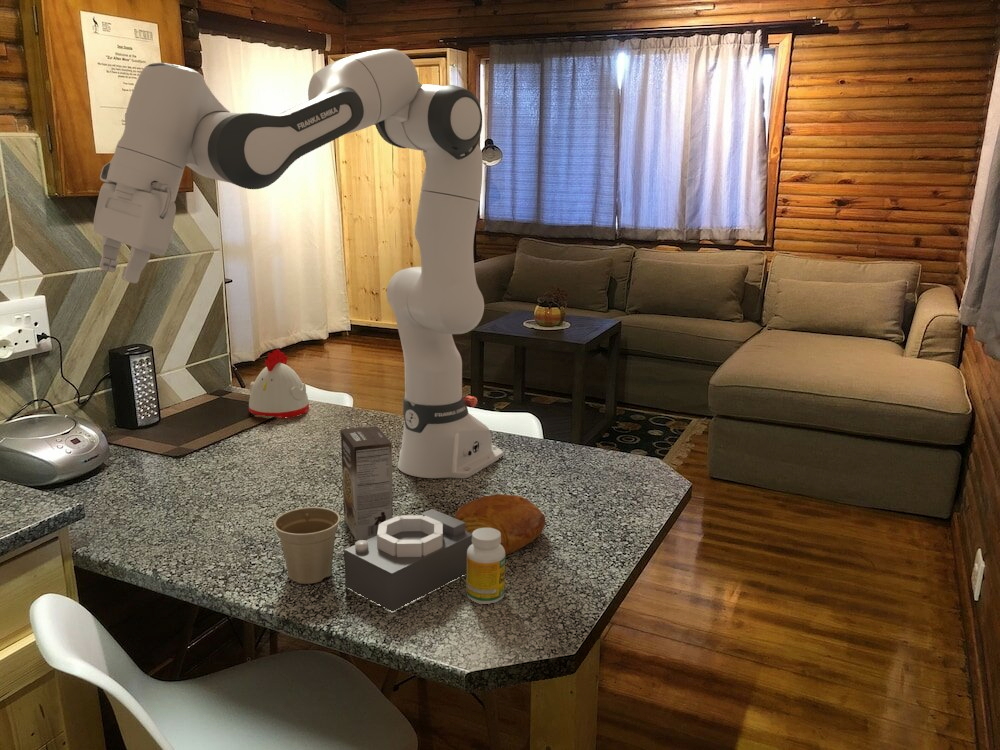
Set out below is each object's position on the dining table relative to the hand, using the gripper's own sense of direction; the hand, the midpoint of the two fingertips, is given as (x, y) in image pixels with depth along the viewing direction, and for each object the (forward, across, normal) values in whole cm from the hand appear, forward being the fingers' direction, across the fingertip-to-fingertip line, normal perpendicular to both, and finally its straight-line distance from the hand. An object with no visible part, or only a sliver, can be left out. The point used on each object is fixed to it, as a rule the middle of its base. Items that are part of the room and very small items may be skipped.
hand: (117, 276), depth 112 cm
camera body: (+30, -33, -39) cm, 59 cm away
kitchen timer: (+26, +54, -62) cm, 86 cm away
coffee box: (+29, -14, -44) cm, 55 cm away
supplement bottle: (+28, -43, -44) cm, 68 cm away
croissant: (+24, -30, -57) cm, 69 cm away
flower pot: (+34, -22, -30) cm, 50 cm away
